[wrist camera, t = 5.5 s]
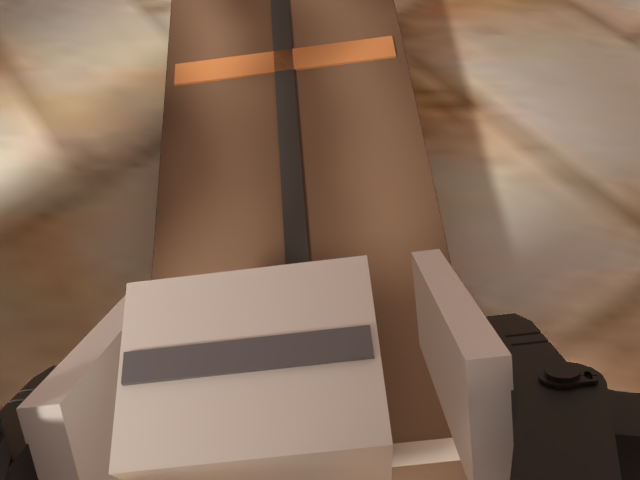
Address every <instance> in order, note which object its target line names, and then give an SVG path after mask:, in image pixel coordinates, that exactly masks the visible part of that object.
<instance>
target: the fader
mask: <svg viewBox="0 0 640 480" xmlns="http://www.w3.org/2000/svg"><path fill="white" fill-rule="evenodd" d="M392 456H393V441H392V434H391V427H390V419H389V412H388V405H387V397H386V390H385V383H384V376H383V368H382V361H381V354H380V346H379V339H378V332H377V324H376V317H375V310H374V303H373V295H372V288H371V281H370V273H369V266H368V259H367V255H363V256H355V257H346V258H337V259H329V260H320V261H312V262H303V263H294V264H286V265H277V266H269V267H260V268H251V269H243V270H234V271H226V272H217V273H208V274H200V275H191V276H183V277H174V278H165V279H157V280H148V281H139V282H131V283H127V286H126V296H125V307H124V317H123V328H122V338H121V349H120V359H119V370H118V380H117V391H116V401H115V412H114V422H113V433H112V443H111V454H110V464H109V474H110V475H112V476H114V477H117V478H119V479H122V480H392Z"/></svg>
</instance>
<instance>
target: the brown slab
mask: <svg viewBox="0 0 640 480" xmlns="http://www.w3.org/2000/svg"><path fill="white" fill-rule="evenodd" d="M434 249H440V251H441V252H442V254H443V255H444V257H445V258H446V260H447V261H448V262H449V264H450V265H451V262H450V257H449V253H448V248H447V243H446V239H445V234H444V230H443V225H442V220H441V216H440V211H439V207H438V202H437V197H436V193H435V188H434V184H433V179H432V174H431V170H430V165H429V161H428V156H427V151H426V147H425V142H424V138H423V133H422V128H421V124H420V119H419V115H418V110H417V105H416V101H415V96H414V92H413V87H412V82H411V78H410V73H409V68H408V64H407V59H406V55H405V50H404V45H403V41H402V36H401V32H400V27H399V22H398V18H397V13H396V9H395V4H394V0H172V2H171V16H170V30H169V43H168V57H167V71H166V85H165V99H164V113H163V127H162V141H161V155H160V169H159V182H158V196H157V210H156V224H155V238H154V252H153V266H152V280H157V279H165V278H174V277H183V276H191V275H200V274H208V273H217V272H226V271H234V270H243V269H251V268H260V267H269V266H277V265H286V264H294V263H303V262H312V261H320V260H329V259H337V258H346V257H355V256H363V255H367V259H368V266H369V273H370V281H371V288H372V295H373V303H374V310H375V317H376V324H377V332H378V339H379V346H380V354H381V361H382V368H383V376H384V383H385V390H386V397H387V405H388V412H389V419H390V427H391V434H392V441H393V456H392V480H467V477H466V474H465V471H464V469H463V466H462V463H461V460H460V457H459V455H458V452H457V449H456V446H455V443H454V441H453V438H452V435H451V432H450V429H449V426H448V424H447V421H446V418H445V415H444V412H443V410H442V407H441V404H440V401H439V398H438V395H437V393H436V390H435V387H434V384H433V381H432V379H431V376H430V373H429V370H428V367H427V364H426V362H425V359H424V356H423V353H422V350H421V348H420V345H419V334H418V322H417V311H416V300H415V289H414V278H413V267H412V256H411V252H417V251H425V250H434Z"/></svg>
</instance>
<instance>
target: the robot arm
mask: <svg viewBox="0 0 640 480" xmlns="http://www.w3.org/2000/svg"><path fill="white" fill-rule="evenodd" d="M411 256H412V267H413V278H414V289H415V300H416V311H417V322H418V334H419V345H420V348H421V350H422V353H423V356H424V359H425V362H426V364H427V367H428V370H429V373H430V376H431V379H432V381H433V384H434V387H435V390H436V393H437V395H438V398H439V401H440V404H441V407H442V410H443V412H444V415H445V418H446V421H447V424H448V426H449V429H450V432H451V435H452V438H453V441H454V443H455V446H456V449H457V452H458V455H459V457H460V460H461V463H462V466H463V469H464V471H465V474H466V477H467V480H640V393H628V392H620V391H614V390H609V389H607V383H606V380H605V379H604V377H603V375H602V374H601V373H599V372H597V371H596V370H594V369H593V368H591V367H588V366H584V365H581V364H578V363H571V362H566V361H565V359H564V358H563V357H562V356H561V355H560V354H559V352H558V351H557V350H556V349H555V348H554V347H553V346H552V344H551V343H550V342H548V340H547V339H546V337H545V336H544V335H543V334H541V332H540V330H539V329H538V328H537V327H536V326H535V325H534V324H533V322H532V321H530V320H528V319H525V318H523V317H521V316H519V315H517V314H506V315H497V316H488V317H485V315H484V314H483V312H482V311H481V309H480V308H479V306H478V305H477V303H476V302H475V301H474V299H473V298H472V296H471V295H470V293H469V292H468V290H467V289H466V287H465V286H464V284H463V283H462V282H461V280H460V279H459V277H458V276H457V274H456V273H455V271H454V270H453V268H452V267H451V265H450V264H449V262H448V261H447V260H446V258H445V257H444V255H443V254H442V252H441V251H440V249H434V250H425V251H417V252H411ZM125 296H126V295H125ZM125 296H124V297H123V298H122V299H121V300H120V301H119V302H118V303H117V304H116V305H115V306H114V307H113V308H112V309H111V310H110V311H109V313H108V314H107V315H106V316H105V317H104V318H103V319H102V320H101V321H100V322H99V323H98V324H97V325H96V326H95V327H94V328H93V329H92V330H91V331H90V332H89V333H88V334H87V335H86V336H85V337H84V339H83V340H82V341H81V342H80V343H79V344H78V345H77V346H76V347H75V348H74V349H73V350H72V351H71V352H70V353H69V354H68V355H67V356H66V357H65V358H64V359H63V360H62V361H61V362H60V364H59V365H58V366H52V367H51V368H49V369H47V370H46V371H44V372H42V373H41V374H39V375H37V376H36V377H34V378H33V379H32V380H31V381H30V382H29V383H28V384H27V385H26V386H25V387H24V388H23V389H22V390H21V393H18V394H17V395H16V396H15V397H14V398H13V399H12V400H11V403H8V404H7V405H6V406H5V407H4V408H3V409H2V410H1V411H0V480H122V479H119V478H117V477H114V476H112V475H110V474H109V464H110V454H111V443H112V433H113V422H114V412H115V401H116V391H117V380H118V370H119V359H120V349H121V338H122V328H123V317H124V307H125Z"/></svg>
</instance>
